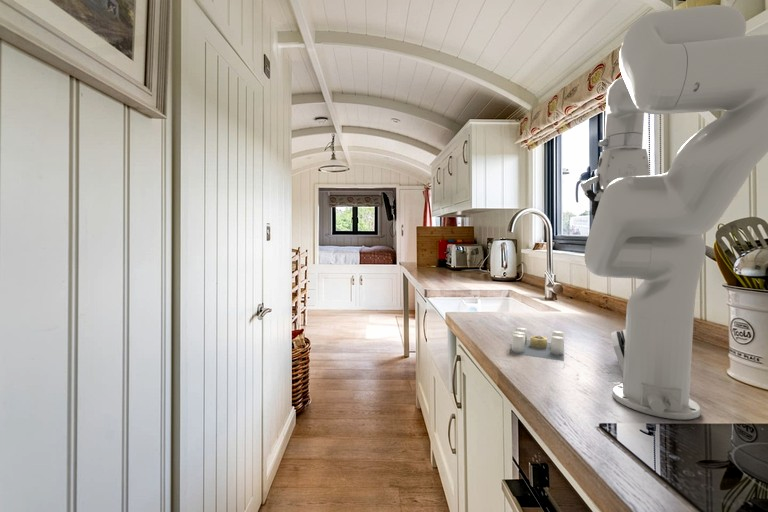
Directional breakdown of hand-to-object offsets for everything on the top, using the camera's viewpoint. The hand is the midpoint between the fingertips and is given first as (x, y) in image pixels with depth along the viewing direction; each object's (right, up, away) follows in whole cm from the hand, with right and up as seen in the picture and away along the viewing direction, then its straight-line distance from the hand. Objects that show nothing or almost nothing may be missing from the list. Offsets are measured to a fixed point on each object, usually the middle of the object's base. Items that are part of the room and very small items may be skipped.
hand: (619, 218), depth 88 cm
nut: (-14, -33, +13) cm, 38 cm away
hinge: (0, -35, -3) cm, 35 cm away
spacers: (-15, -34, +11) cm, 38 cm away
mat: (-15, -34, +11) cm, 38 cm away
